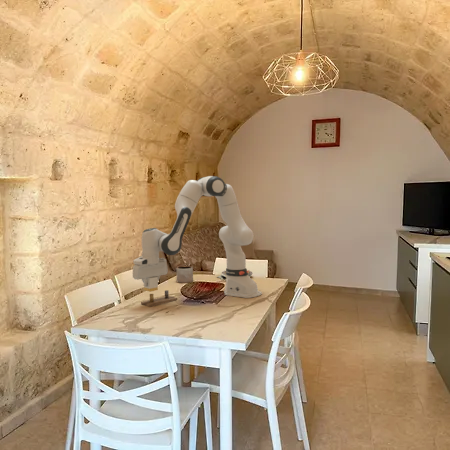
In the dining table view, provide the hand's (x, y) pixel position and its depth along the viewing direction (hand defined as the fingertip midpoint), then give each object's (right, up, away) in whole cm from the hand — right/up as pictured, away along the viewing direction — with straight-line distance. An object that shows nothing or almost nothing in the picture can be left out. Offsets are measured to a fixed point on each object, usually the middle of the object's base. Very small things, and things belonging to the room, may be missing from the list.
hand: (150, 285), depth 211 cm
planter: (+12, -6, +56) cm, 57 cm away
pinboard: (+4, -10, +4) cm, 11 cm away
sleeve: (0, -3, 0) cm, 3 cm away
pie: (+47, -5, +66) cm, 81 cm away
